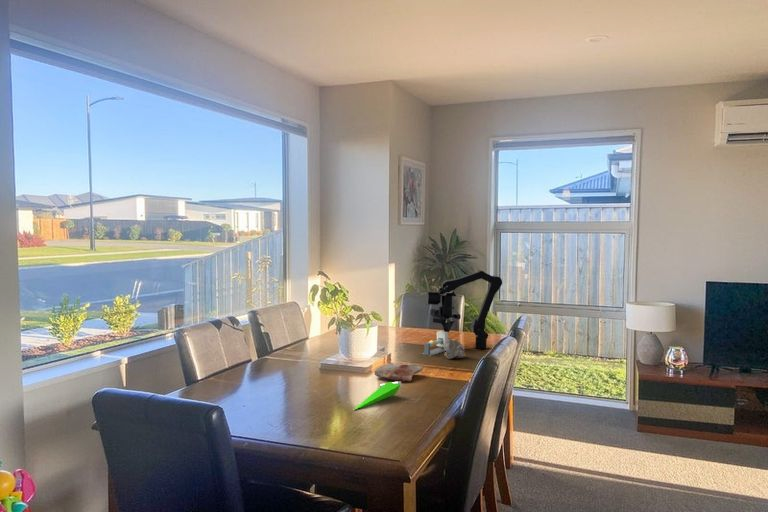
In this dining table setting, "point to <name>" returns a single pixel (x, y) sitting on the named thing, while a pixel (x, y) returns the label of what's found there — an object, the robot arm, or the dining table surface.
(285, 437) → the dining table surface
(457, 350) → the rock
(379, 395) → the green wedge
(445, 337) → the sleeve
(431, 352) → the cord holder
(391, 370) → the stone
